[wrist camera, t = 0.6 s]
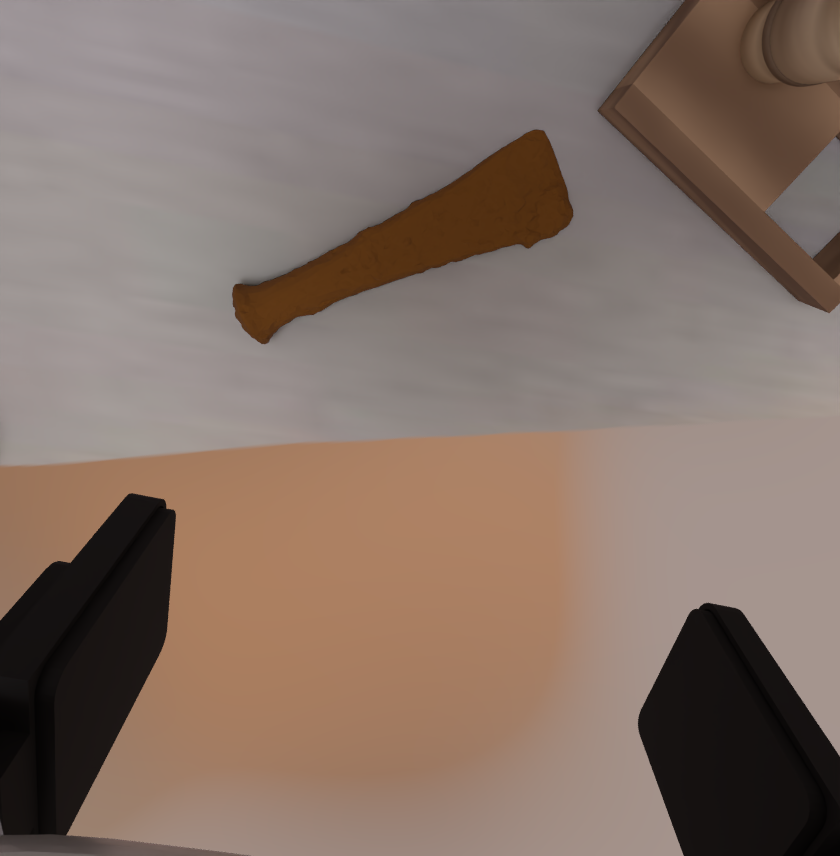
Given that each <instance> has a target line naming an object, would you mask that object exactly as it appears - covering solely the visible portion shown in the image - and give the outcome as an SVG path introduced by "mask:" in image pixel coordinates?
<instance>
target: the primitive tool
mask: <svg viewBox="0 0 840 856" xmlns="http://www.w3.org/2000/svg"><path fill="white" fill-rule="evenodd" d="M572 217H573V209H572V206H571V204H570V202H569V199H568V191H567V187H566V185H565V182H564V179H563V177H562V174H561V171H560V168H559V165H558V162H557V159H556V157H555V154H554V151H553V149H552V146H551V144H550V141H549V139H548V138H547V136H546V134H545V132H544V131H542V130H533V131H531V132H528V133H526V134H524V135H523V136H522V137H520V138H518V139H517V140H515V141H513V142H512V143H510V144H508V145H507V146H505V147H503V148H501V149H500V150H499V151H497V152H495V153H494V154H493V155H491V156H490V157H488V158H487V159H485V160H484V161H482V162H481V163H480V164H478V165H477V166H475V167H474V168H473V169H472V170H471V171H469V172H467V173H466V174H464V175H463V176H461V177H460V178H458V179H457V180H455V181H454V182H452V183H451V184H449V185H448V186H446V187H444V188H442V189H441V190H439V191H437V192H435V193H434V194H431V195H429V196H427V197H425V198H424V199H422V200H417V201H415V202H413V203H411V205H410V206H409V207H408V208H407V209H406V210H404V211H402V212H400V213H398V214H396V215H394V216H393V217H391V218H389V219H388V220H386V221H384V222H383V223H381V224H379V225H376V226H374V227H368V228H367V229H365V230H363V231H361V232H359V233H358V234H357V235H356V236H355V237H354V238H353V239H352V240H350V241H349V242H348V243H346V244H343V245H341V246H339V247H337V248H335V249H333V250H331V251H329V252H327V253H325V254H324V255H322V256H320V257H319V258H317V259H315V260H314V261H310V262H308V263H307V264H306V265H304V266H302V267H300V268H296V269H294V270H293V271H291V272H289V273H288V274H286V275H283V276H280V277H277V278H275V279H272V280H270V281H265V282H263V283H261V284H260V285H257V286H247V285H244V284H235V286H234V287H233V294H232V296H233V307H235V317H236V318H237V319H238V321H239V322H240V323H241V324H242V328H243V329H244V330H245V331H246V332H247V333H248V334H249V335H250V336H251V337H252V338H254V339H256V340H257V341H258V342H260V343H261V344H266V343H268V342H269V340H270V338H271V337H272V336H273V334H274V333H275V332H276V331H277V330H278V329H279V328H280V327H281V326H283V325H285V324H287V323H289V322H291V321H292V320H293V319H294V318H296V317H299V316H305V315H314V314H315V313H317V312H320V311H322V310H323V309H325V308H327V307H328V306H330V305H331V304H333V303H335V302H337V301H339V300H341V299H344V298H346V297H349V296H352V295H356V294H358V293H360V292H363V291H366V290H369V289H372V288H376V287H379V286H381V285H384V284H387V283H390V282H392V281H395V280H398V279H402V278H405V277H407V276H411V275H414V274H416V273H423V272H424V271H426V270H428V269H430V268H437V267H441V266H443V265H446V264H447V263H449V262H457V261H461V260H463V259H466V258H468V257H471V256H473V255H478V254H482V253H486V252H491V251H495V250H497V249H500V248H502V247H507V246H512V245H515V244H522V245H523V246H524V247H526V248H531V247H532V246H533V244H535V243H537V242H538V241H540V240H542V239H547V238H551V237H553V236H555V235H557V234H558V233H559V231H560V230H562V229H564V228H565V227H567V226H568V225H569V223H570V221H571V219H572Z"/></svg>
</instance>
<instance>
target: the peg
mask: <svg viewBox="0 0 840 856" xmlns="http://www.w3.org/2000/svg"><path fill="white" fill-rule="evenodd" d="M740 52H741V59H742V63H743V65H744V68H745V69H746V71H747V72H748V73H749V75H750V76H751V77H753V78H754V79H756V80H757V81H760V82H763V83H770V84H771V83H779V82H782V83H784V84H787V85H790V86H794V87H807V86H813V85H818V84H822V83H825V82H830V81H836V80H840V0H771V1H769V2H767V3H766V4H764V5H763V6H762V7H760V8H759V9H758V10H757V11H756V12H755V13H754V15H753V16H752V17H751V18H750V20H749V22H748V23H747V25H746V27H745V30H744V32H743V35H742V40H741V49H740Z"/></svg>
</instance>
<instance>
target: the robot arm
mask: <svg viewBox="0 0 840 856" xmlns="http://www.w3.org/2000/svg"><path fill="white" fill-rule="evenodd" d="M175 519H176V514H175V511H174V510H171V509H166V502H165V500H164V499H158V498H153V497H148V496H143V495H138V494H133V493H132V494H128V495H127V496H126V497H125V499H124V500H123V501H122V502H121V503H120V504H119V506H118V507H117V508H116V509H115V510H114V512H113V513H112V514H111V515H110V516H109V517H108V519H107V520H106V521H105V522H104V523H103V525H102V526H101V527H100V528H99V529H98V531H97V532H96V533H95V534H94V535H93V537H92V538H91V539H90V540H89V541H88V543H87V544H86V545H85V546H84V547H83V549H82V550H81V551H80V552H79V553H78V555H77V556H76V557H75V558H74V560H73V561H72V562H71V563H67V562H61V561H57V562H54V563H52V564H51V565H50V566H49V567H48V568H46V569H45V571H44V572H43V573H42V574H41V575H40V576H39V577H38V579H37V580H36V581H35V582H34V583H33V584H32V585H31V587H30V588H29V589H28V590H27V591H26V592H25V593H24V594H23V596H22V597H21V598H20V599H19V600H18V601H17V602H16V603H15V605H14V606H13V607H12V608H11V609H10V610H9V612H8V613H7V614H6V615H5V616H4V617H3V618H2V619H1V620H0V856H248V855H241V854H234V853H226V852H219V851H209V850H202V849H194V848H185V847H177V846H168V845H161V844H152V843H144V842H135V841H127V840H118V839H109V838H95V837H81V836H67V835H66V834H67V833H68V831H69V829H70V827H71V825H72V823H73V821H74V819H75V817H76V815H77V814H78V812H79V809H80V807H81V806H82V804H83V802H84V800H85V798H86V796H87V794H88V792H89V790H90V788H91V786H92V784H93V782H94V780H95V779H96V777H97V775H98V773H99V771H100V769H101V767H102V765H103V763H104V761H105V759H106V757H107V755H108V753H109V751H110V749H111V747H112V746H113V743H114V741H115V740H116V738H117V736H118V734H119V732H120V730H121V728H122V726H123V724H124V722H125V720H126V718H127V716H128V714H129V713H130V711H131V709H132V707H133V705H134V703H135V701H136V699H137V697H138V695H139V693H140V691H141V689H142V687H143V685H144V683H145V681H146V679H147V677H148V675H149V674H150V672H151V670H152V668H153V666H154V664H155V662H156V660H157V658H158V656H159V654H160V652H161V650H162V647H163V645H164V641H165V638H166V633H167V622H168V611H169V598H170V585H171V572H172V559H173V547H174V546H173V545H174V534H175V521H176V520H175ZM638 728H639V734H640V737H641V739H642V742H643V745H644V747H645V750H646V753H647V756H648V758H649V762H650V764H651V766H652V770H653V772H654V775H655V778H656V781H657V784H658V786H659V789H660V792H661V794H662V797H663V800H664V803H665V806H666V808H667V811H668V814H669V817H670V819H671V822H672V825H673V828H674V830H675V833H676V836H677V839H678V841H679V844H680V847H681V849H682V852H683V855H684V856H840V756H839V755H838V753H837V752H836V750H835V749H834V747H833V746H832V744H831V743H830V741H829V740H828V738H827V737H826V735H825V734H824V732H823V731H822V730H821V728H820V727H819V725H818V724H817V722H816V721H815V719H814V718H813V716H812V715H811V713H810V712H809V710H808V709H807V707H806V706H805V704H804V703H803V701H802V700H801V698H800V697H799V696H798V694H797V692H796V691H795V690H794V688H793V686H792V685H791V684H790V682H789V681H788V679H787V678H786V676H785V675H784V673H783V672H782V670H781V669H780V667H779V666H778V664H777V663H776V661H775V660H774V658H773V657H772V655H771V654H770V652H769V651H768V650H767V648H766V646H765V645H764V644H763V642H762V641H761V639H760V638H759V636H758V635H757V633H756V632H755V630H754V629H753V627H752V626H751V624H750V623H749V621H748V620H747V618H746V617H745V615H744V614H743V613H742V612H741V611H740V610H739V609H736V608H732V607H727V606H721V605H716V604H711V603H705V604H703V605H702V606H700V608H699V609H694V610H692V611H691V612H690V614H689V615H688V617H687V619H686V622H685V623H684V625H683V627H682V629H681V631H680V633H679V635H678V637H677V640H676V641H675V643H674V645H673V647H672V649H671V651H670V653H669V656H668V657H667V659H666V661H665V663H664V665H663V667H662V669H661V671H660V673H659V675H658V677H657V679H656V681H655V684H654V685H653V687H652V689H651V691H650V693H649V695H648V697H647V699H646V701H645V703H644V705H643V707H642V709H641V711H640V714H639V719H638Z"/></svg>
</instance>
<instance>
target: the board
mask: <svg viewBox="0 0 840 856" xmlns="http://www.w3.org/2000/svg"><path fill="white" fill-rule="evenodd" d="M769 1H771V0H685V1H684V3H683V4H682V5H681V6H680V8H679V9H678V10H677V11H676V13H675V14H674V15H673V16H672V18H671V19H670V20H669V22H668V23H667V24H666V25H665V27H664V28H663V29H662V30H661V32H660V33H659V34H658V35H657V37H656V38H655V39H654V40H653V42H652V43H651V44H650V45H649V47H648V48H647V49H646V51H645V52H644V53H643V54H642V56H641V57H640V58H639V59H638V61H637V62H636V63H635V64H634V66H633V67H632V68H631V69H630V71H629V72H628V73H627V74H626V76H625V77H624V78H623V79H622V81H621V82H620V83H619V85H618V86H617V87H616V88H615V90H614V91H613V92H612V93H611V95H610V96H609V97H608V98H607V100H606V101H605V102H604V103H603V105H602V106H601V107H600V108H599V110H598V112H599V113H600V114H601V115H603V116H604V117H605V118H606V119H607V120H608V121H609V122H610V123H611V124H612V125H613V126H614V127H615V128H616V129H617V130H618V131H619V132H621V133H622V134H623V135H624V136H625V137H626V138H627V139H628V140H629V141H630V142H631V143H632V144H633V145H634V146H635V147H636V148H637V149H639V150H640V151H641V152H642V153H643V154H644V155H645V156H646V157H647V158H648V159H649V160H650V161H651V162H652V163H653V164H654V165H655V166H657V167H658V168H659V169H660V170H661V171H662V172H663V173H664V174H665V175H666V176H667V177H668V178H669V179H670V180H671V181H672V182H673V183H675V184H676V185H677V186H678V187H679V188H680V189H681V190H682V191H683V192H684V193H685V194H686V195H687V196H688V197H689V198H690V199H691V200H693V201H694V202H695V203H696V204H697V205H698V206H699V207H700V208H701V209H702V210H703V211H704V212H705V213H706V214H707V215H708V216H709V217H711V218H712V219H713V220H714V221H715V222H716V223H717V224H718V225H719V226H720V227H721V228H722V229H723V230H724V231H725V232H726V233H727V234H729V235H730V236H731V237H732V238H733V239H734V240H735V241H736V242H737V243H738V244H739V245H740V246H741V247H742V248H743V249H744V250H745V251H746V252H748V253H749V254H750V255H751V256H752V257H753V258H754V259H755V260H756V261H757V262H758V263H759V264H760V265H761V266H762V267H763V268H764V269H766V270H767V271H768V272H769V273H770V274H771V275H772V276H773V277H774V278H775V279H776V280H777V281H778V282H779V283H780V284H781V285H782V286H784V287H785V288H786V289H787V290H788V291H789V292H790V293H791V294H792V295H793V296H794V297H795V298H796V299H797V300H798V301H800V302H803V303H805V304H808V305H810V306H813V307H815V308H818V309H820V310H823V311H825V312H828V313H830V312H831V311H832V310H833V309H834V308H835V307H836V306H837V305H838V304H839V303H840V232H839V233H838V234H837V235H836V236H835V237H834V238H833V239H832V240H831V241H830V242H829V243H828V244H827V245H826V246H825V247H824V248H823V249H822V250H821V251H820V252H819V253H818V254H817V255H816V256H815V257H814V258H813V259H812V258H811V257H810V256H809V255H808V254H807V253H806V252H805V251H804V250H803V249H802V248H801V247H800V246H799V245H798V244H797V243H796V242H794V241H793V240H792V239H791V238H790V237H789V236H788V235H787V234H786V233H785V232H784V231H783V230H782V229H781V228H780V227H779V226H778V225H777V224H776V223H775V222H774V221H773V220H772V219H771V218H770V217H769V216H768V215H767V214H766V213H765V211H766V210H767V208H768V207H769V206H770V205H771V204H772V203H773V202H774V201H775V200H776V199H777V198H778V197H779V196H780V195H781V194H782V193H783V191H784V190H785V189H786V188H787V187H788V186H789V185H790V184H791V183H792V182H793V181H794V180H795V179H796V178H797V177H798V175H799V174H800V173H801V172H802V171H803V170H804V169H805V168H806V167H807V166H808V165H809V164H810V163H811V162H812V161H813V160H814V158H815V157H816V156H817V155H818V154H819V153H820V152H821V151H822V150H823V149H824V148H825V147H826V146H827V145H828V144H829V143H830V141H831V140H832V139H833V138H834V137H835V136H836V137H837V138H838V139H839V140H840V80H836V81H830V82H825V83H822V84H818V85H813V86H807V87H794V86H790V85H787V84H784V83H782V82H779V83H771V84H770V83H763V82H760V81H757V80H756V79H754V78H753V77H751V76H750V75H749V73H748V72H747V71H746V69H745V68H744V65H743V63H742V59H741V52H740V49H741V40H742V35H743V32H744V30H745V27H746V25H747V23H748V22H749V20H750V18H751V17H752V16H753V15H754V13H755V12H756V11H757V10H758V9H759V8H760V7H762V6H763V5H764V4H766V3H767V2H769Z"/></svg>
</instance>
